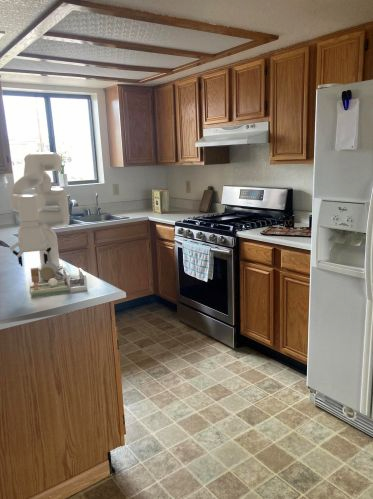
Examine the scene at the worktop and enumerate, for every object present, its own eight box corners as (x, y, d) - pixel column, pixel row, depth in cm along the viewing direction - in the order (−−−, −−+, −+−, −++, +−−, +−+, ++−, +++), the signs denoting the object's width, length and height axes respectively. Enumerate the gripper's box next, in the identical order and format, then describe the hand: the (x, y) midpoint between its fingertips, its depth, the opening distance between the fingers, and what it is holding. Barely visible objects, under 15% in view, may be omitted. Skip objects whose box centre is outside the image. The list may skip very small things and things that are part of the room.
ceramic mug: (39, 282, 194) (38, 266, 192) (42, 277, 202) (40, 262, 200) (62, 280, 196) (61, 265, 194) (64, 276, 204) (63, 261, 202)
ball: (48, 286, 181) (47, 277, 180) (57, 285, 183) (56, 276, 182) (49, 288, 178) (48, 280, 177) (58, 287, 179) (57, 278, 178)
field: (30, 289, 183) (29, 284, 182) (64, 284, 188) (64, 280, 188) (31, 297, 171) (31, 292, 171) (68, 292, 177) (67, 287, 176)
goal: (64, 284, 189) (62, 267, 187) (81, 282, 192) (80, 265, 190) (68, 293, 176) (66, 275, 175) (87, 290, 179) (85, 272, 178)
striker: (32, 287, 180) (30, 267, 178) (39, 286, 181) (37, 266, 179) (33, 291, 174) (31, 270, 172) (40, 290, 175) (38, 269, 173)
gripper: (50, 222, 178) (53, 260, 181) (7, 225, 171) (11, 264, 175) (52, 224, 171) (55, 263, 175) (7, 227, 165) (11, 268, 168)
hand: (33, 264), depth 175 cm, fingers open, 9 cm apart
